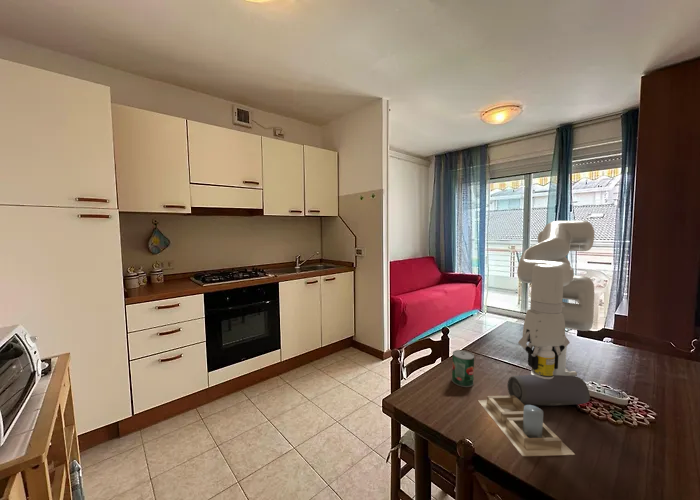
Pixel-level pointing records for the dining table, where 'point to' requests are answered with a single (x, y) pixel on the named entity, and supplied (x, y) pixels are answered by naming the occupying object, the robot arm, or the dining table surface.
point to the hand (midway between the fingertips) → (542, 366)
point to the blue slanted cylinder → (532, 421)
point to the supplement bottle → (545, 363)
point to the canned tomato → (463, 368)
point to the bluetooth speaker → (549, 390)
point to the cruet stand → (511, 423)
